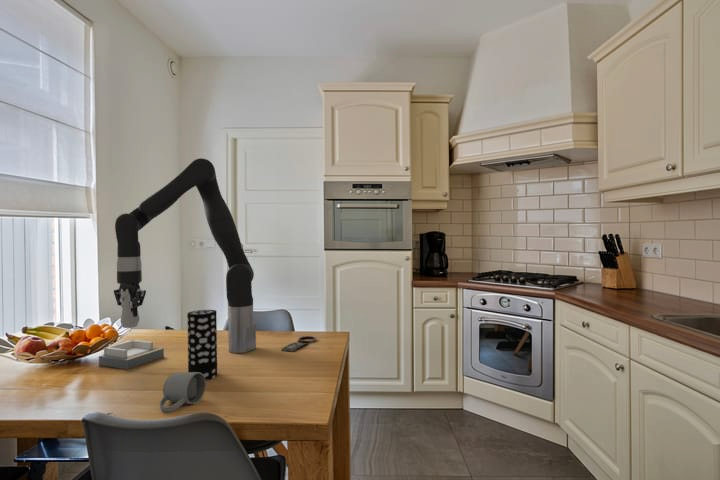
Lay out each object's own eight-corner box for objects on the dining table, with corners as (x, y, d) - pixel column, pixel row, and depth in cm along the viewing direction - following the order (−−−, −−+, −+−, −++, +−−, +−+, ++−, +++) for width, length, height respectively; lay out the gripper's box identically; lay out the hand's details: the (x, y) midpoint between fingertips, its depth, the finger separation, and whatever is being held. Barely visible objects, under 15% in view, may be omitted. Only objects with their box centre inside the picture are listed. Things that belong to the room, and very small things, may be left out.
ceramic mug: (181, 394, 102) (180, 366, 102) (206, 396, 100) (206, 368, 100) (150, 412, 92) (149, 381, 92) (178, 415, 90) (178, 383, 90)
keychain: (277, 351, 142) (277, 346, 142) (303, 339, 159) (303, 334, 159) (295, 353, 139) (295, 348, 139) (319, 340, 156) (319, 336, 156)
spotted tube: (223, 373, 118) (222, 310, 118) (204, 382, 110) (203, 315, 110) (202, 370, 121) (201, 309, 121) (182, 379, 113) (181, 314, 113)
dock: (163, 356, 136) (163, 341, 136) (127, 369, 123) (127, 352, 123) (136, 353, 141) (136, 338, 141) (99, 364, 128) (98, 349, 128)
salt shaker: (143, 324, 135) (142, 289, 135) (132, 328, 129) (131, 291, 129) (128, 324, 135) (127, 289, 135) (116, 328, 130) (115, 291, 130)
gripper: (153, 269, 133) (153, 317, 133) (125, 268, 138) (126, 314, 138) (133, 270, 126) (134, 321, 126) (105, 270, 131) (106, 318, 131)
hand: (130, 317), depth 132 cm, fingers closed on salt shaker, 3 cm apart
